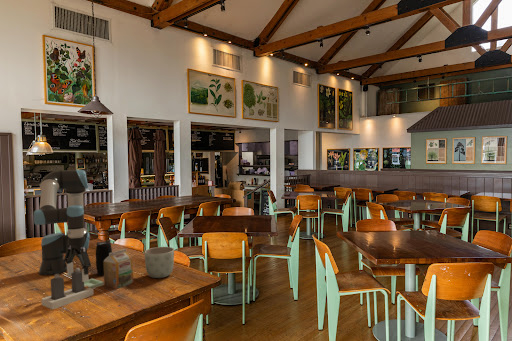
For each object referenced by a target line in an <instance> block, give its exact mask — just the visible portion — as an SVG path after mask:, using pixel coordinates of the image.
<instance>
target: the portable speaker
mask: <svg viewBox="0 0 512 341" xmlns="http://www.w3.org/2000/svg"><path fill="white" fill-rule="evenodd" d="M112 252H113V249H112V244H111V241H110V240H105V241H97V242H96V247H95V266H96V271H97V276H100V277H102V276H104V260H105V259H106V258H107V257H108V256H109V253H112Z"/></svg>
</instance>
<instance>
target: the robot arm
mask: <svg viewBox="0 0 512 341" xmlns="http://www.w3.org/2000/svg"><path fill="white" fill-rule="evenodd" d="M39 188H40V189H39V190H40V192H41V193H40V200H39V201H40V202H39V208H38V209H35V210H34V211H33V223H34V225H35V226H40V225H41V226H44V225H52V224H53V225H54V224H64V223H66V225H67V226H66V227H67V231H66V234H63V233H62V232H56V233H55V232H54V233H51V234H47V235H45V236H43V237H42V238H41V244H40V246H41V263H40V266H39V270H38V274H39V275H41V276H52V275H53V276H55V274H59V275H60V274H61V273H65V272H67V277H72V274H71V273H74V259H75V257H77V258H78V260H79V263H80V265H81V266H82V267H81V271H82V282H84V281H87V280H89V268H91V266H92V263H91V260H90V256H89V254H88V250H89V246H90V244H89V243H90V232H88V230H87V229H86V228H85V210H84V193H85V192H87V189H88V188H89V184H88V179H87V172H86V171H85V170H84V169H68V170H67V169H66V170H54V171H51V172H50V173H48V174H46V175H45V176H44V177H43V178H42V180H41V181H40V184H39ZM60 190H63V191H64V193H65V194H66V195H67V207H62V208H57V199H58V198H57V197H58V196H57V195H58V191H60ZM64 255H65V256H64Z"/></svg>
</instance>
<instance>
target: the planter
mask: <svg viewBox="0 0 512 341" xmlns="http://www.w3.org/2000/svg"><path fill="white" fill-rule="evenodd" d="M174 260H175V248H173V247H170V246H157V247H151V248H148V249H146V250H144V261H145V262H144V263H145V264H144V265H145V270H146V273H147V275H148V276H149V277H150V278H153V279H162V278H166V277H168V276H170V275H171V274H172V272H173V270H174V265H175V264H174Z"/></svg>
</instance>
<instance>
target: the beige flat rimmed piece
mask: <svg viewBox="0 0 512 341" xmlns="http://www.w3.org/2000/svg"><path fill="white" fill-rule="evenodd" d="M92 296H94V288H93V289H92V288H89V286H84V291H81V292H78V293H74V292H72V288H69V289H67V290H64V297H63V298H60V299H57V300H53V299H51V295H49V296H46V297H43V298H41V306H43V307H45V308H47V309H50V310H55V309H58V308H61V307H64V306H66V305H69V304H72V303H75V302H78V301H81V300H83V299H86V298H89V297H92Z"/></svg>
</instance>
